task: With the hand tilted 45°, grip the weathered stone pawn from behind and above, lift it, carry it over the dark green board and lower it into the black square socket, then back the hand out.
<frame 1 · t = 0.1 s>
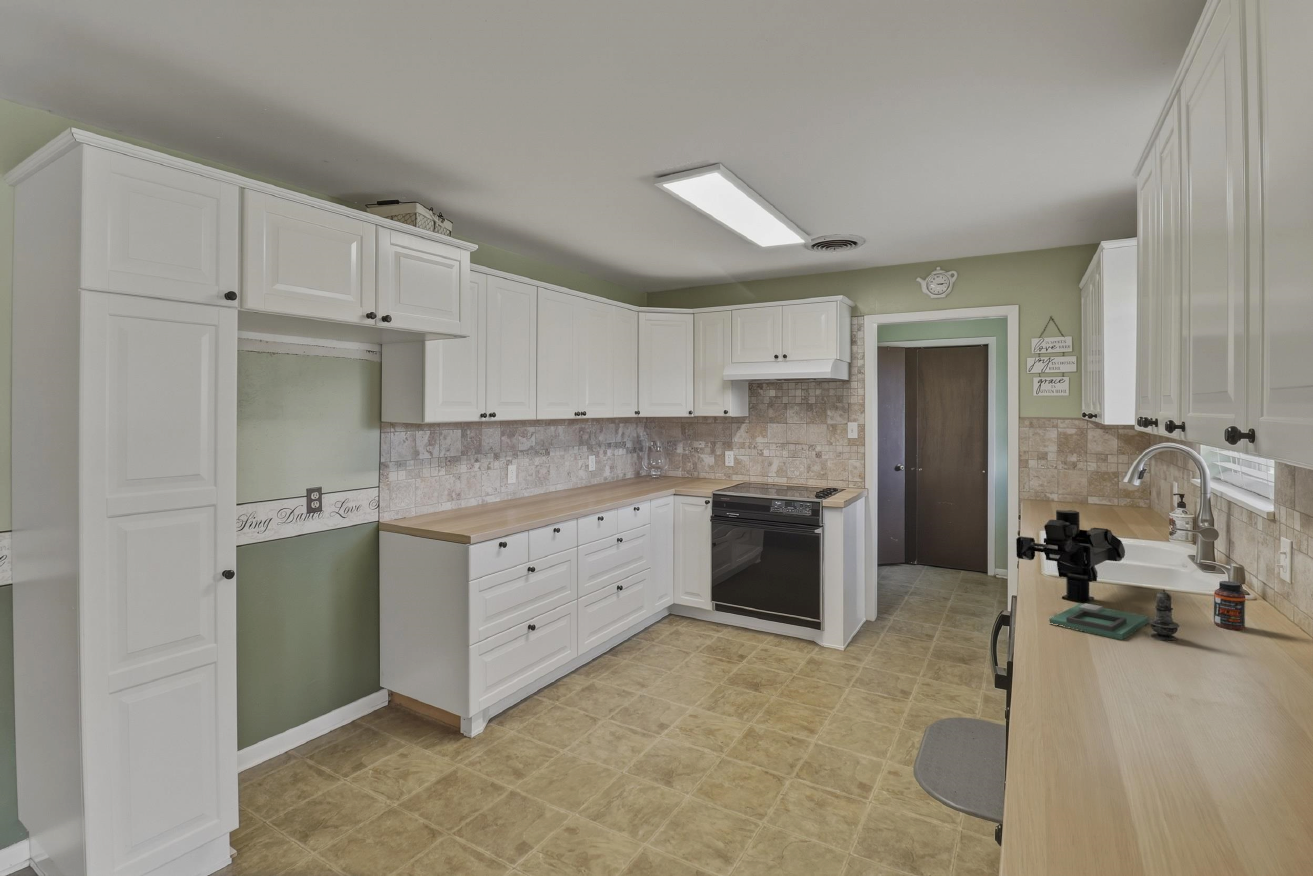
hand: (1040, 556, 174), 17 cm above the countertop, tool horizontal, fingers open, 9 cm apart
weathered stone pawn: (1164, 638, 156), on the countertop
socket board: (1099, 623, 168), on the countertop
supplement bottle: (1229, 627, 163), on the countertop
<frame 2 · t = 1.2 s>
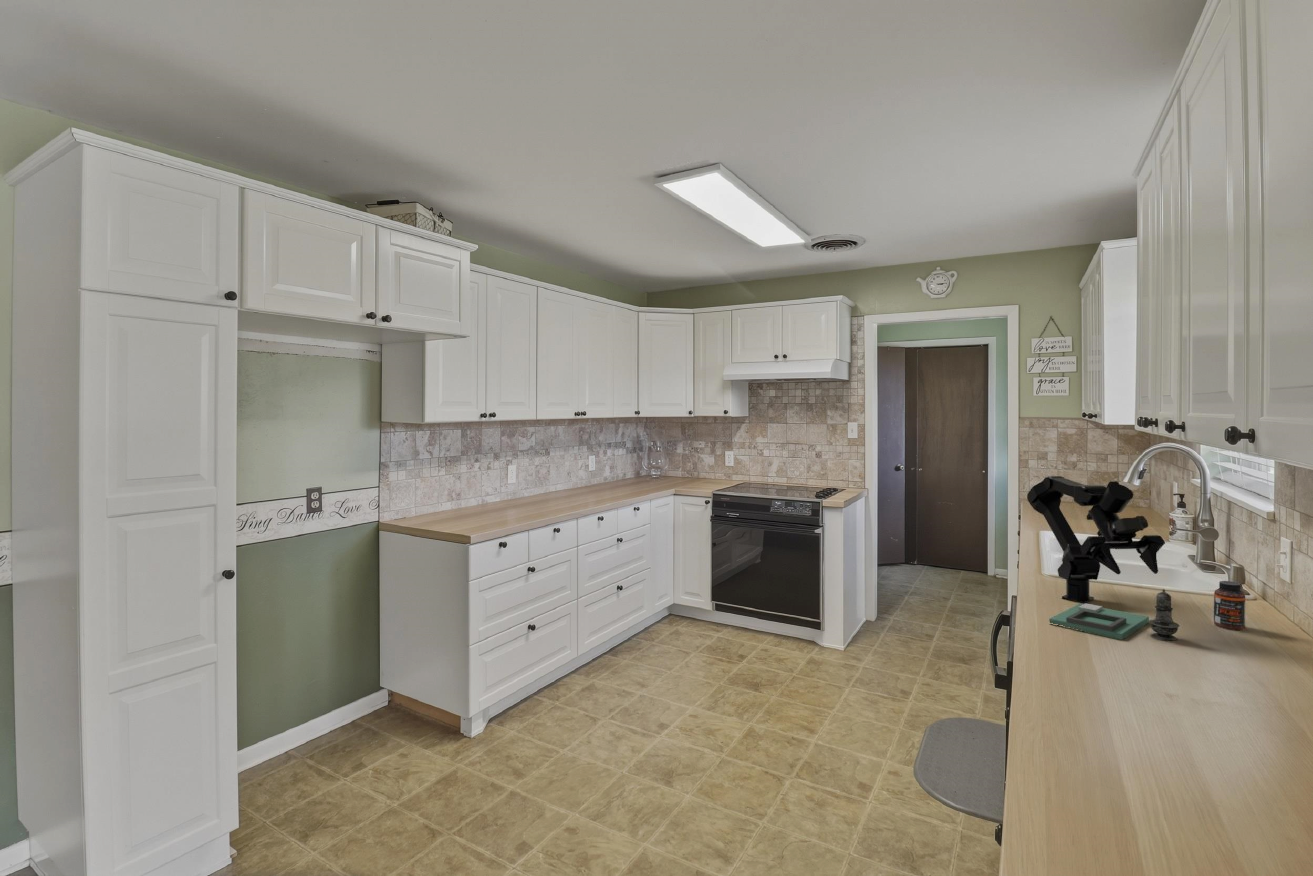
hand: (1137, 573, 164), 14 cm above the countertop, tool tilted 45°, fingers open, 9 cm apart
nothing on the countertop moved.
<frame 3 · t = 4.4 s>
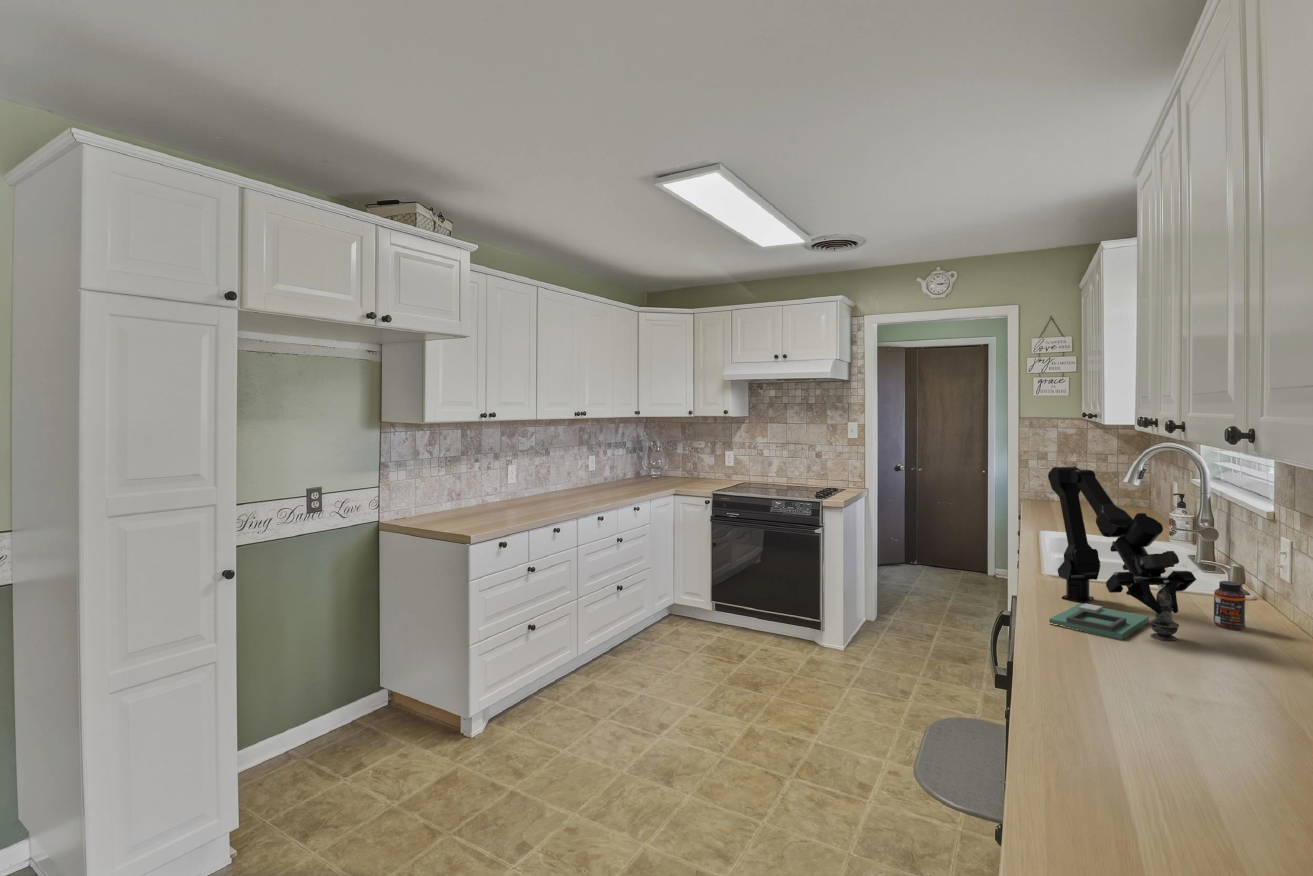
hand: (1168, 612, 155), 7 cm above the countertop, tool tilted 45°, fingers closed on weathered stone pawn, 3 cm apart
weathered stone pawn: (1164, 638, 156), on the countertop, touching gripper
everything else where it was.
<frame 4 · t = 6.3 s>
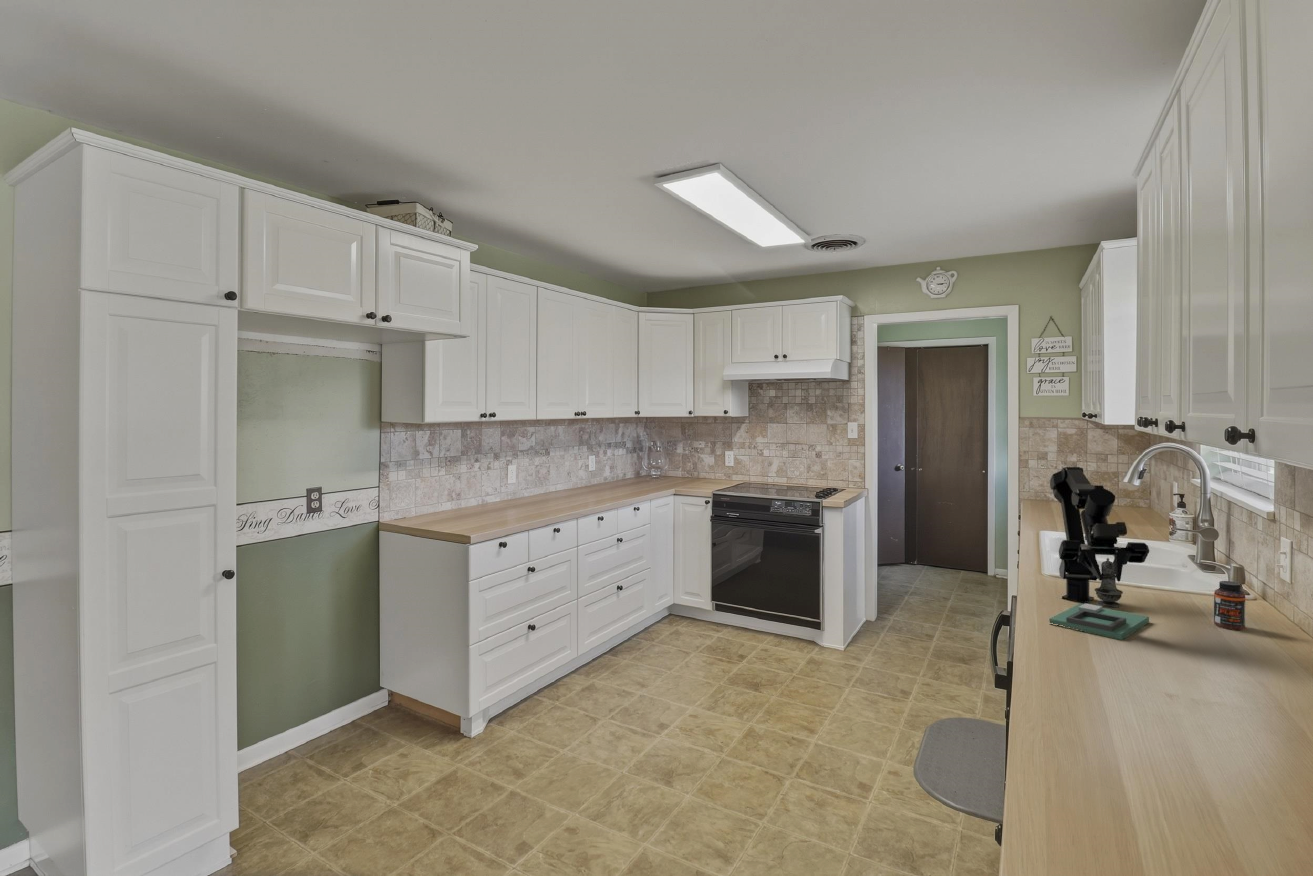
hand: (1109, 580, 161), 13 cm above the countertop, tool tilted 45°, fingers closed on weathered stone pawn, 4 cm apart
weathered stone pawn: (1108, 605, 162), point 6 cm above the countertop, touching gripper
everything else where it was.
when the fingers open (9 cm above the countertop, at t = 8.3 s): weathered stone pawn stays where it is, resting on socket board.
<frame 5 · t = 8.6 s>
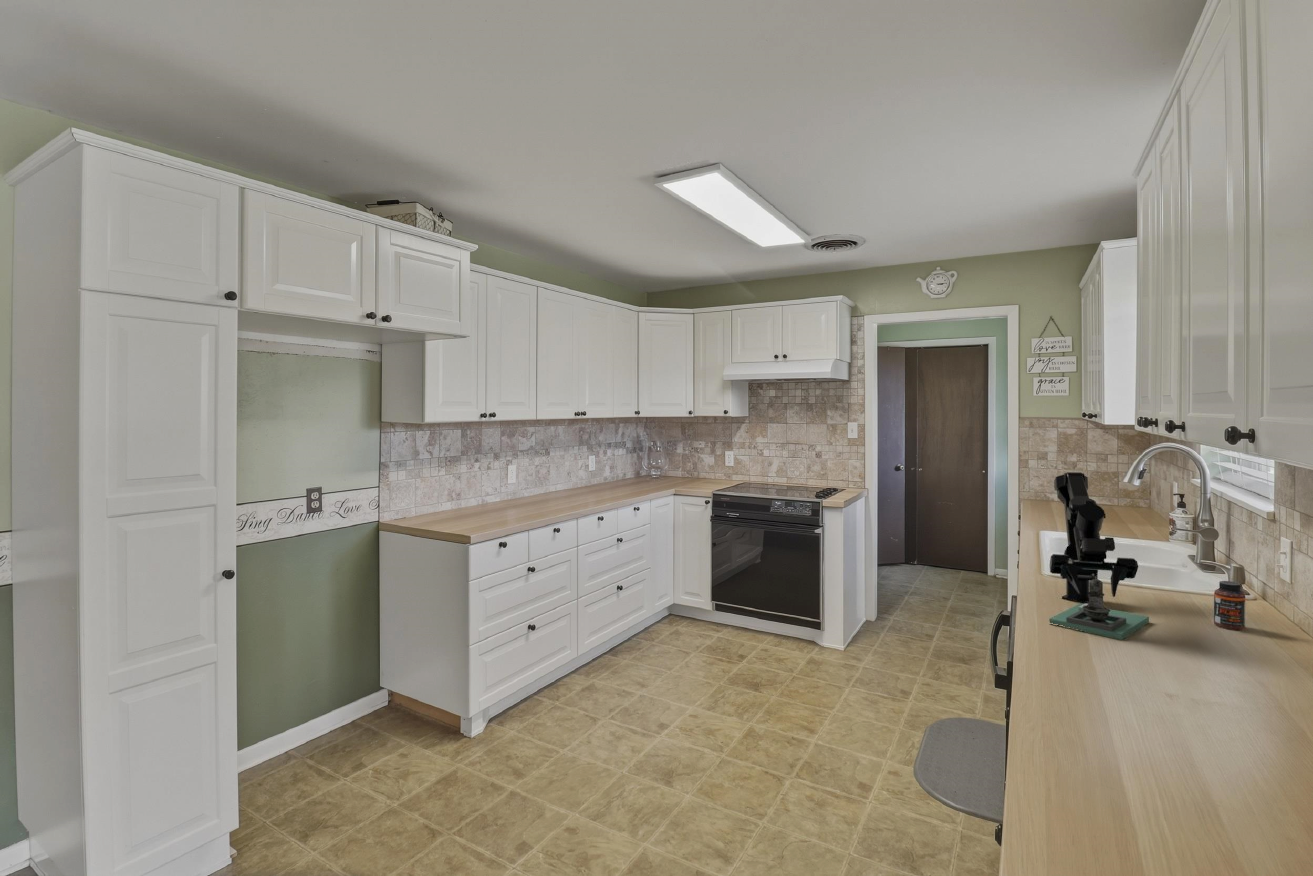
hand: (1097, 594, 163), 9 cm above the countertop, tool tilted 45°, fingers open, 7 cm apart
weathered stone pawn: (1096, 623, 164), point 1 cm above the countertop, touching socket board
everything else where it was.
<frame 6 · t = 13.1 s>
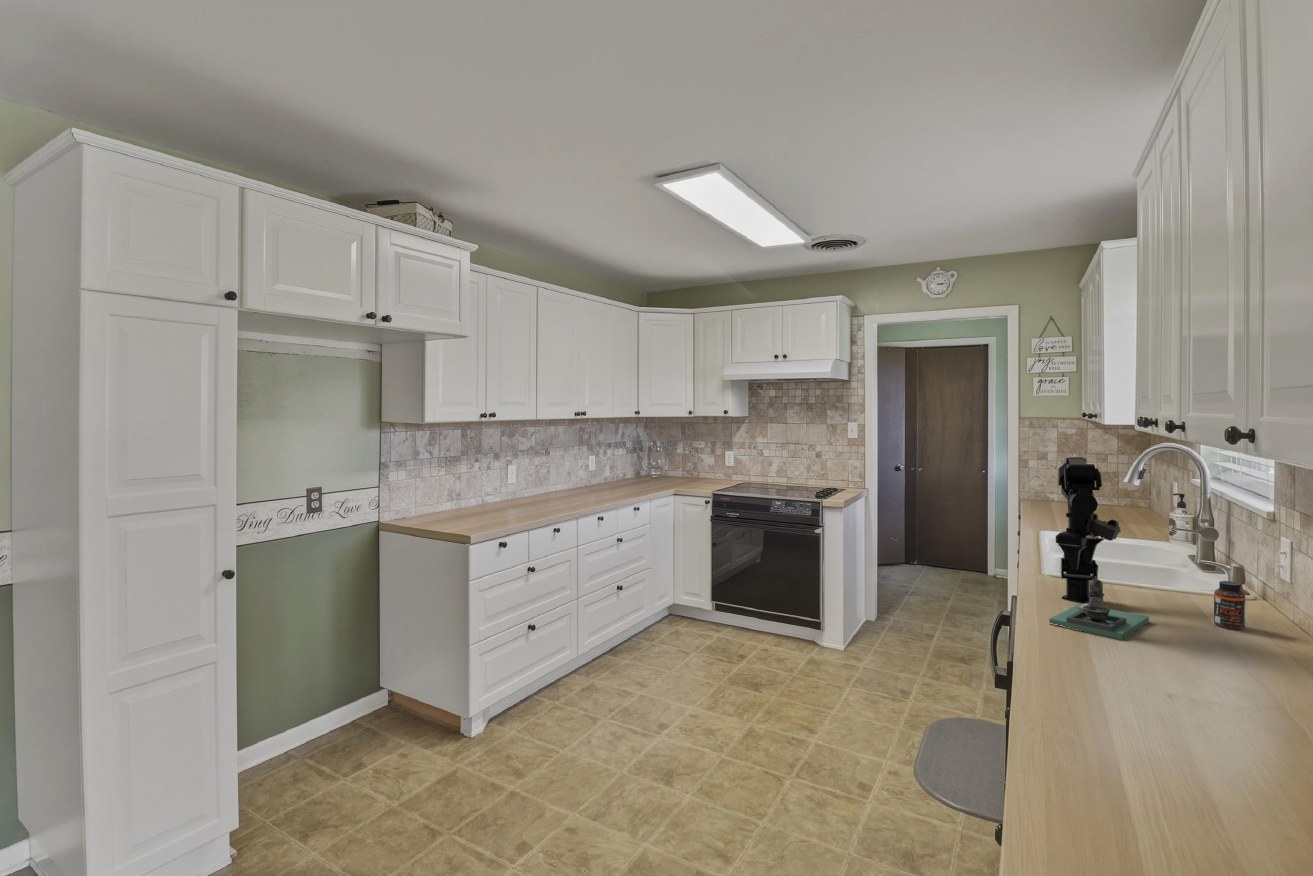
hand: (1081, 566, 176), 13 cm above the countertop, tool pointing down, fingers open, 9 cm apart
nothing on the countertop moved.
at the end: weathered stone pawn 0.2 cm from the target spot on the socket board, point 1.3 cm above the socket board's base; weathered stone pawn tilted 0°; the gripper is holding nothing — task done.
